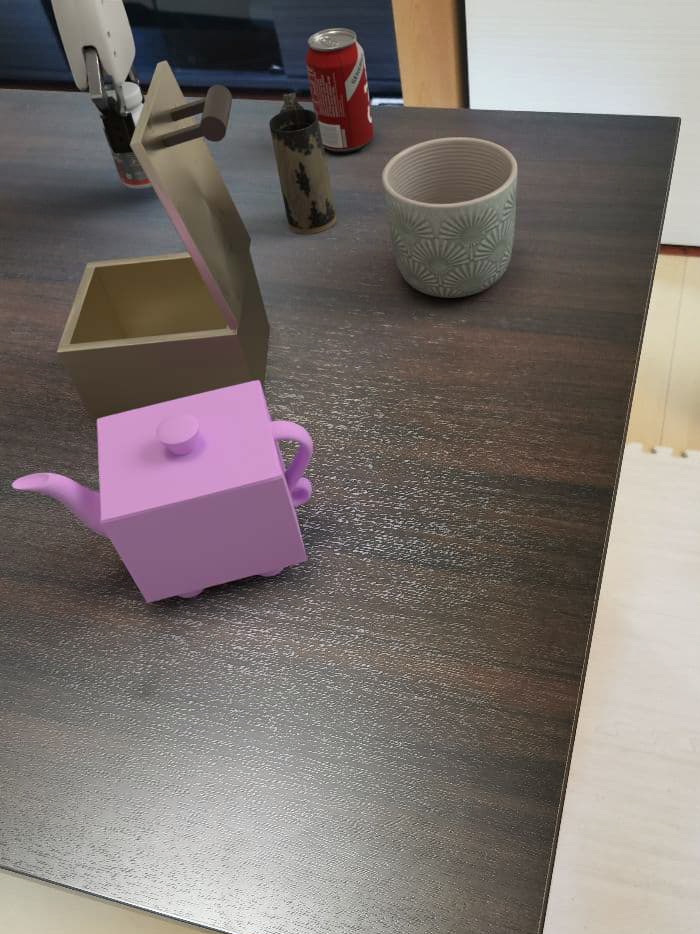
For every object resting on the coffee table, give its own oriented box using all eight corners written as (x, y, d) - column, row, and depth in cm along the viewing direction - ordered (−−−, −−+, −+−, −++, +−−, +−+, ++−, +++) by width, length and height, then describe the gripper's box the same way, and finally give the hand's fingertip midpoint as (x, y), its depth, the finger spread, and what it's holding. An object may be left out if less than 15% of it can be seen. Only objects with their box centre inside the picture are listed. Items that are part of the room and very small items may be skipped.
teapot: (318, 471, 69) (288, 350, 60) (344, 564, 63) (315, 446, 53) (76, 533, 67) (4, 418, 58) (78, 635, 61) (-3, 526, 51)
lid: (129, 144, 55) (204, 120, 54) (157, 62, 63) (223, 40, 62) (230, 330, 67) (293, 313, 66) (243, 241, 75) (299, 225, 74)
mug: (339, 230, 92) (321, 119, 83) (289, 238, 92) (265, 128, 82) (332, 193, 97) (314, 85, 88) (285, 201, 97) (262, 93, 87)
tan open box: (97, 431, 75) (56, 352, 68) (121, 341, 83) (87, 262, 76) (261, 415, 74) (236, 334, 67) (269, 326, 82) (248, 245, 75)
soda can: (342, 162, 101) (326, 56, 92) (309, 145, 105) (290, 41, 95) (385, 140, 104) (373, 35, 94) (351, 124, 107) (336, 21, 98)
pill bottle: (117, 173, 100) (87, 86, 93) (163, 162, 101) (138, 74, 94) (126, 195, 97) (96, 106, 89) (174, 182, 98) (148, 93, 90)
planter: (407, 322, 81) (396, 217, 72) (383, 252, 88) (370, 150, 80) (531, 296, 81) (535, 190, 73) (496, 229, 89) (496, 126, 81)
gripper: (55, -73, 87) (113, 107, 101) (13, -14, 76) (85, 178, 90) (126, -79, 87) (175, 101, 101) (94, -22, 76) (154, 172, 90)
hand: (132, 136), depth 95 cm, fingers closed on pill bottle, 5 cm apart
